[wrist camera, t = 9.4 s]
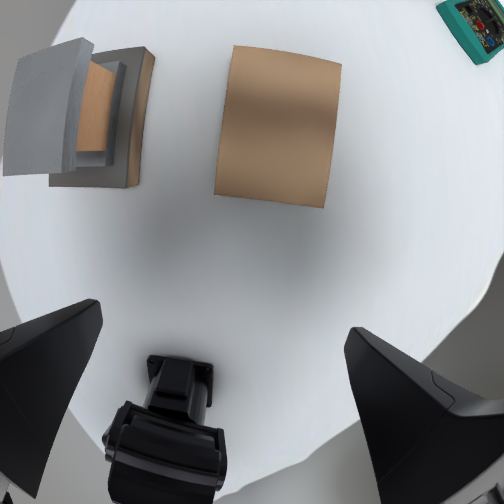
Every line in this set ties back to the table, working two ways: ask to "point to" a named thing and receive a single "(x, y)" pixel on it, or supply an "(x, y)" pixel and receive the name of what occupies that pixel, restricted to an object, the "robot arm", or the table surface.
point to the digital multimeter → (475, 26)
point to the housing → (62, 111)
